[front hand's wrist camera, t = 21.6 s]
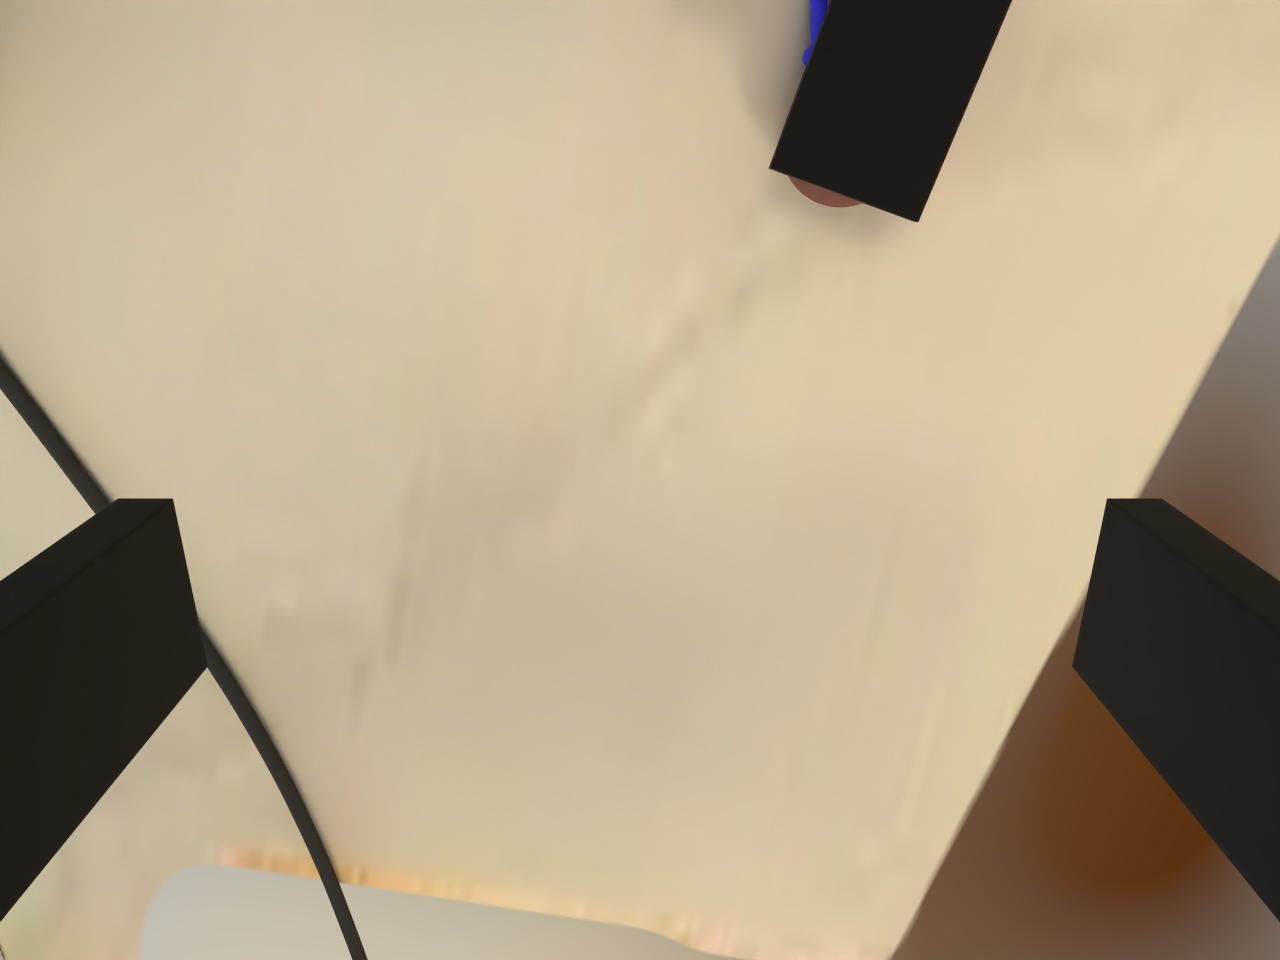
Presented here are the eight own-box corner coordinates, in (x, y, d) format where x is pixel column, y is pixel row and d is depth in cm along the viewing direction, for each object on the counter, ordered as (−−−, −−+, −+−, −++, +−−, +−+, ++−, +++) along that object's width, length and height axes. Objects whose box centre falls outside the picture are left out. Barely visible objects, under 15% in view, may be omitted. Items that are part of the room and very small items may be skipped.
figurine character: (860, -194, 35) (737, 181, 39) (926, -308, 28) (767, 168, 32) (1012, -134, 36) (878, 229, 40) (1115, -229, 29) (939, 227, 32)
